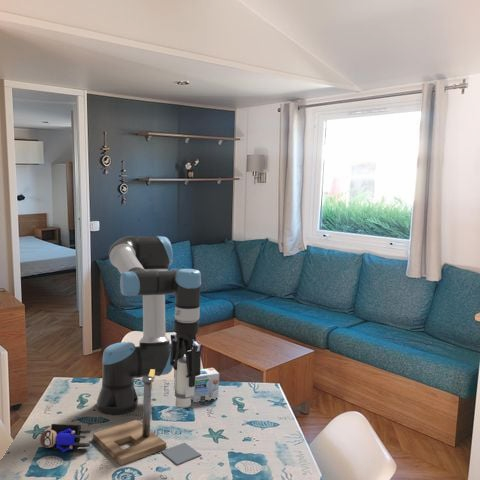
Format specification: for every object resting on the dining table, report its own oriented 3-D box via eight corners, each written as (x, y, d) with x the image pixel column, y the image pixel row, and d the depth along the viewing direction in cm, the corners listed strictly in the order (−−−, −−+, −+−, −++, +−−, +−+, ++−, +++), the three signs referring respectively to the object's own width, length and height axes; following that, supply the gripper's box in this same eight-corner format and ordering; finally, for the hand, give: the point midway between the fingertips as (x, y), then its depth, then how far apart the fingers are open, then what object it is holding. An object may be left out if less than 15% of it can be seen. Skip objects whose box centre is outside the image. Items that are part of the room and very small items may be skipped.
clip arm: (155, 377, 173) (156, 368, 173) (151, 392, 160) (152, 383, 160) (149, 377, 173) (149, 368, 173) (144, 392, 160) (144, 383, 160)
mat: (161, 452, 154) (161, 451, 154) (184, 443, 160) (184, 442, 160) (177, 465, 148) (177, 464, 148) (201, 455, 154) (201, 454, 154)
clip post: (138, 435, 160) (140, 377, 158) (147, 432, 163) (149, 375, 161) (143, 440, 158) (146, 381, 156) (153, 437, 160) (155, 378, 158)
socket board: (92, 439, 160) (93, 433, 160) (136, 425, 171) (136, 419, 171) (120, 465, 146) (121, 459, 146) (166, 448, 157) (166, 442, 157)
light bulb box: (194, 403, 191) (195, 376, 190) (187, 396, 197) (188, 370, 196) (218, 399, 196) (220, 373, 195) (211, 392, 202) (213, 367, 200)
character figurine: (86, 456, 151) (38, 454, 150) (93, 442, 158) (46, 441, 157) (86, 433, 149) (37, 431, 149) (93, 420, 156) (46, 418, 156)
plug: (171, 403, 152) (172, 358, 151) (185, 399, 156) (187, 354, 154) (180, 409, 148) (182, 363, 147) (195, 405, 152) (197, 359, 150)
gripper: (160, 314, 154) (157, 385, 156) (194, 329, 140) (191, 406, 143) (179, 311, 159) (177, 380, 161) (215, 325, 145) (211, 400, 148)
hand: (183, 392), depth 152 cm, fingers closed on plug, 5 cm apart
